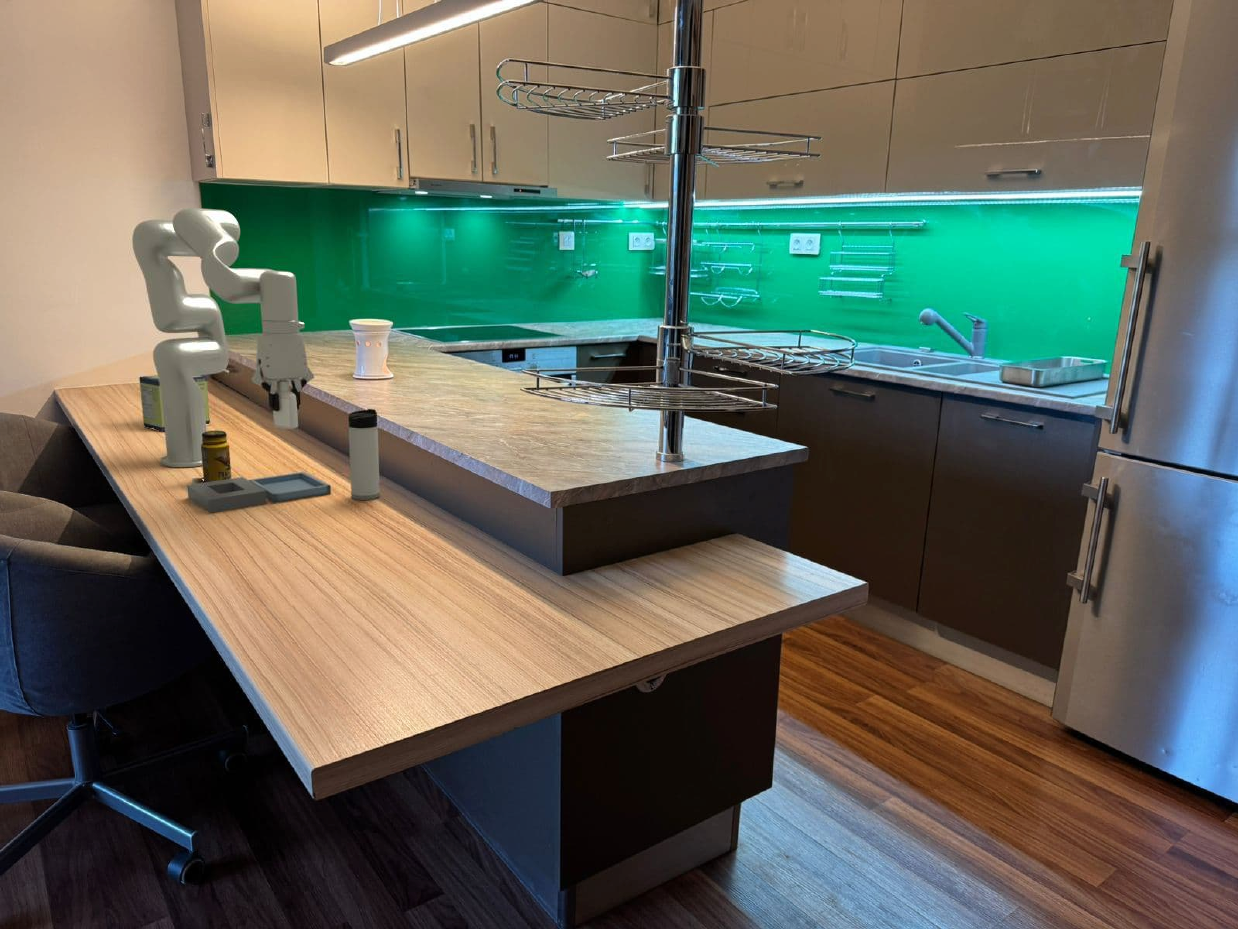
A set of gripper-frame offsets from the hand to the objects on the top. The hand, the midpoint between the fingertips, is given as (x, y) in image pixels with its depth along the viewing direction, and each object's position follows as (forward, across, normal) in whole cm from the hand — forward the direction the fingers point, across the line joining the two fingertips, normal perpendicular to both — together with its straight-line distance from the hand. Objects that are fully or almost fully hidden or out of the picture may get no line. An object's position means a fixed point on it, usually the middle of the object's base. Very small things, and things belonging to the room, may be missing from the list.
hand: (285, 408), depth 192 cm
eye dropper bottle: (+4, 0, 0) cm, 4 cm away
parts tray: (+19, 0, 0) cm, 19 cm away
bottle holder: (+19, +14, 0) cm, 24 cm away
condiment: (+20, +11, -18) cm, 29 cm away
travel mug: (+20, -12, +14) cm, 27 cm away
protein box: (+20, -1, -87) cm, 89 cm away
